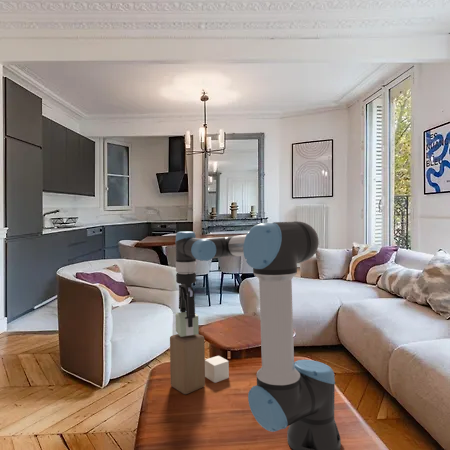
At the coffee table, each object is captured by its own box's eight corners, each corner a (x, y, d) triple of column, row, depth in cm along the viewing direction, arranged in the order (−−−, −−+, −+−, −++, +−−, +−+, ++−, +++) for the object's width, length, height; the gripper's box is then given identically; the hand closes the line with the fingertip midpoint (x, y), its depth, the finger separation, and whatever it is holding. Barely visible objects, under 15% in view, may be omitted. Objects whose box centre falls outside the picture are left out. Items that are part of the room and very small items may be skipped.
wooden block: (190, 378, 146) (189, 329, 145) (206, 386, 138) (205, 335, 138) (169, 386, 139) (168, 335, 138) (185, 396, 132) (184, 342, 131)
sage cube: (198, 334, 136) (198, 315, 136) (180, 336, 133) (180, 318, 133) (193, 328, 142) (192, 310, 142) (175, 330, 140) (175, 313, 139)
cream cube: (228, 378, 146) (228, 361, 145) (214, 383, 141) (214, 365, 141) (218, 371, 151) (218, 355, 151) (204, 376, 147) (204, 359, 147)
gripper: (203, 275, 129) (204, 339, 130) (188, 267, 147) (189, 322, 148) (183, 277, 126) (184, 342, 127) (170, 268, 145) (171, 325, 146)
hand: (186, 331), depth 138 cm, fingers closed on sage cube, 7 cm apart
